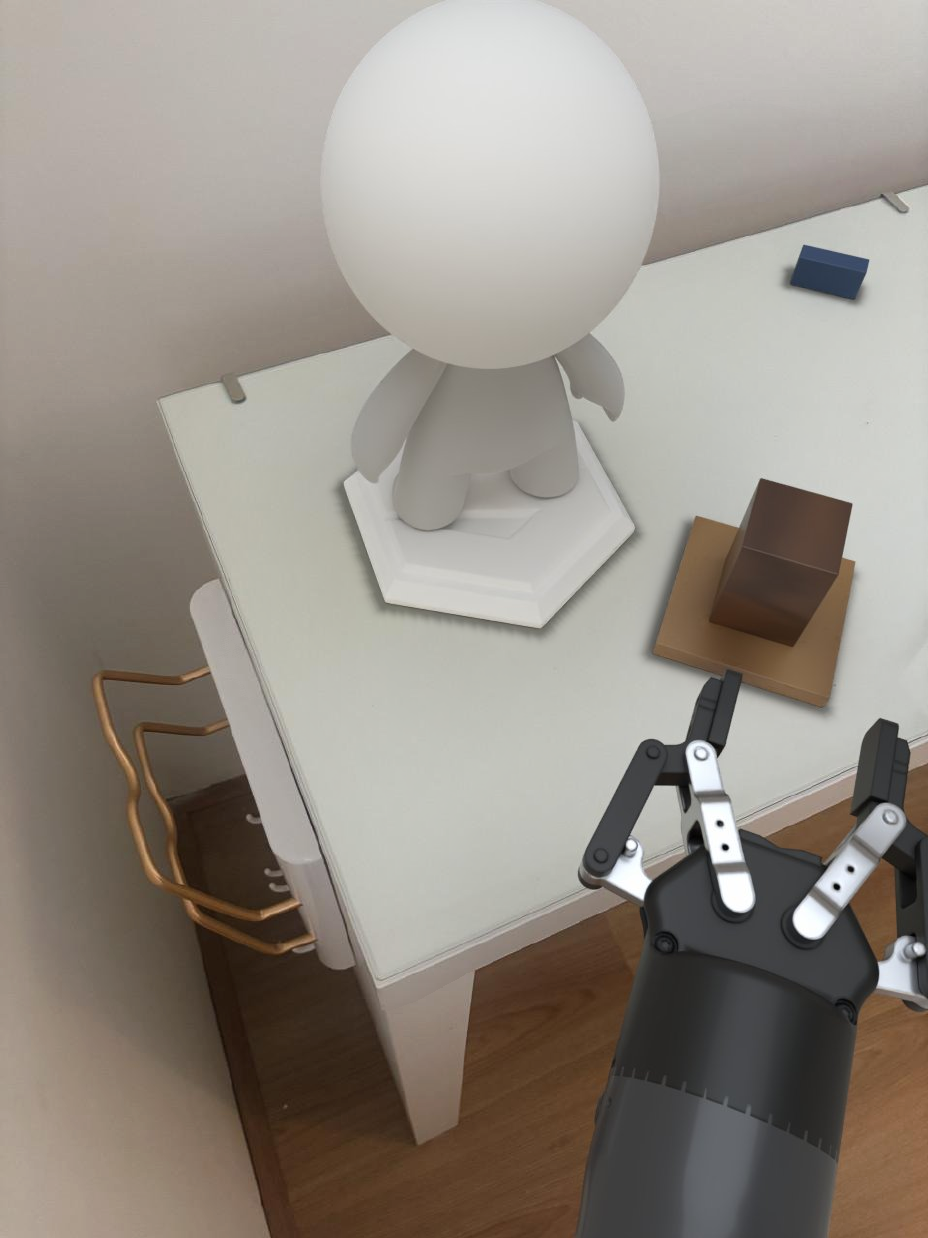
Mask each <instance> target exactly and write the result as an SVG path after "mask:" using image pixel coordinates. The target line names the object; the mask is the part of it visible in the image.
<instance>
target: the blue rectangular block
mask: <svg viewBox="0 0 928 1238" xmlns="http://www.w3.org/2000/svg"><path fill="white" fill-rule="evenodd" d="M798 255H799V256H798V258H797V260H796V264H795V266H794V269H793V271H792V275H791V277H790V282H789V285H791V286H796V287H799V288H804V289H808V290H813V291H817V292H821V293H824V294H825V293H826V294H829V295H833V296H838V297H842V298H846V299H850V300H856V298H857V296H858V293H859V290H860V289H861V287H862V284H863V283H864V279H865V278H866V275H867V273H868V269H869V264H870V259H869V258H865V257H860V256H856V255H852V254H848V253H843V252H838V251H834V250H830V249H825V248H821V247H817V246H816V247H815V246H814V245H813V246H812V245H807V244H802V247H801V249H800V252H799V254H798Z"/></svg>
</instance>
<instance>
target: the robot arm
mask: <svg viewBox="0 0 928 1238" xmlns="http://www.w3.org/2000/svg"><path fill="white" fill-rule="evenodd" d="M742 676H743V674H742V673H739V672H736V671H733V670H730V669H727V668H726V669H725V671H724V673H723V675H721V677H720V679H719V678H716V677H713V676H710V677H709V679H708V680H707V681H706V682H704V684H703V685H702V688H701V689H700V691H699V694H698V696H697V698H696V700H695V703H694V707H693V711H692V714H691V718H690V722H689V725H688V728H687V732H686V736H685V740H684V741H683V742H681V743H678V744H677V743H676V744H665V743H663V742H662V741H660V740H659V739H655V738H647V739H645V740H643V741H641V742H640V744H639V745H638V747H637V749H636V751H635V752H634V754H633V757H632V758H631V761H630V762H629V764H628V766H627V768H626V770H625V772H624V774H623V776H622V777H621V780H620V782H619V783H618V785H617V788H616V789H615V792H614V793H613V795H612V797H611V799H610V801H609V803H608V805H607V807H606V809H605V811H604V812H603V814H602V817H601V819H600V820H599V822H598V824H597V827H596V829H595V830H594V832H593V834H592V836H591V838H590V840H589V842H588V844H587V846H586V848H585V850H584V853H583V855H582V858H581V861H580V863H579V866H578V869H577V878H578V881H579V883H580V884H581V885H582V886H583V887H584V888H586V889H588V890H591V891H596V890H600V889H602V888H603V889H605V890H606V891H607V890H608V891H609V892H611V893H612V894H614V895H616V896H617V897H620V898H622V899H624V900H625V901H627V902H629V903H630V904H633V905H634V906H636V907H638V909H639V910H638V912H639V917H640V921H641V924H642V931H643V942H642V949H641V953H640V957H639V960H638V964H637V967H636V970H635V974H634V978H633V979H634V980H633V983H632V987H631V990H630V994H629V998H628V1002H627V1005H626V1009H625V1012H624V1017H623V1019H622V1024H621V1027H620V1032H619V1034H618V1039H617V1043H616V1046H615V1049H614V1050H615V1051H614V1053H613V1057H612V1061H611V1065H610V1069H609V1073H608V1077H607V1081H606V1085H605V1088H604V1090H603V1092H602V1093H601V1094H600V1095H599V1098H598V1101H597V1104H596V1108H595V1113H594V1120H593V1124H594V1130H593V1133H592V1137H591V1141H590V1145H589V1148H588V1153H587V1157H586V1162H585V1168H584V1173H583V1174H584V1175H583V1181H582V1188H581V1197H580V1203H579V1211H578V1215H577V1222H576V1227H575V1232H574V1235H573V1237H574V1238H829V1231H830V1223H831V1216H832V1210H833V1209H832V1208H833V1203H834V1196H835V1189H836V1183H837V1174H838V1167H839V1161H840V1154H841V1153H840V1152H841V1147H842V1141H843V1132H844V1126H845V1125H844V1124H845V1117H846V1111H847V1104H848V1103H847V1102H848V1096H849V1091H850V1083H851V1075H852V1069H853V1061H854V1055H855V1048H856V1041H857V1034H858V1019H859V1014H860V1011H861V1010H862V1007H863V1006H864V1004H865V1003H866V1001H867V1000H868V999H869V998H870V997H871V996H872V994H875V995H879V996H884V997H890V998H894V999H898V1000H901V1001H902V1003H903V1004H904V1005H905V1006H906V1007H907V1009H909V1010H911V1011H912V1012H915V1013H925V1012H927V1011H928V834H927V833H926V832H924V831H922V830H921V829H920V828H918V827H916V826H915V825H914V824H912V822H910V821H911V820H909V818H908V817H907V815H906V812H905V798H906V792H907V791H906V790H907V783H908V778H909V777H908V774H909V768H910V762H911V761H910V760H911V754H912V752H911V749H910V746H909V745H910V744H909V742H908V740H907V739H905V738H901V737H899V730H900V725H899V723H898V722H895V721H891V720H888V719H885V718H882V717H879V718H878V719H877V720H876V721H875V722H874V723H873V724H872V725H871V726H870V728H868V730H867V731H866V732H865V734H864V736H863V738H862V740H861V745H860V751H859V756H858V763H857V770H856V776H855V780H854V787H853V793H852V798H851V805H850V812H849V815H850V816H852V817H856V821H855V822H856V823H855V825H854V826H852V828H851V829H850V830H849V832H847V834H846V836H845V837H844V838H843V839H842V841H841V842H840V843H839V844H838V845H837V847H836V848H835V849H834V850H833V852H832V853H831V854H830V855H829V856H828V858H826V859H825V861H824V862H822V861H823V856H821V855H818V854H815V853H812V852H810V851H807V850H804V849H800V848H799V849H797V848H789V847H788V848H787V847H780V846H778V845H777V844H775V843H773V842H772V841H770V840H768V839H767V838H765V837H764V836H762V835H761V834H758V833H755V832H752V831H749V830H747V829H744V828H739V829H738V825H737V820H736V816H735V812H734V807H733V803H732V799H731V796H730V795H729V794H727V793H726V790H725V787H724V783H723V778H722V773H721V769H720V765H719V757H720V756H721V754H722V752H723V751H724V749H725V747H726V745H727V741H728V737H729V733H730V728H731V726H732V721H733V716H734V713H735V709H736V705H737V701H738V696H739V692H740V689H741V684H742V682H741V681H742ZM656 786H660V787H675V792H676V796H677V802H678V807H679V811H680V834H681V838H682V844H683V849H684V853H685V856H684V857H683V858H681V859H680V860H678V861H677V862H675V863H674V864H673V865H671V866H670V867H668V868H666V870H664V871H662V873H660V874H658V875H657V876H655V877H654V878H653V879H652V878H651V877H649V875H648V874H647V873H646V872H645V870H644V866H643V860H644V856H645V848H644V845H643V844H642V841H640V840H639V839H638V838H637V837H635V836H633V835H631V834H632V831H633V830H634V828H635V826H636V824H637V822H638V820H639V818H640V816H641V813H642V811H643V809H644V808H645V805H646V804H647V802H648V799H649V797H650V796H651V794H652V791H653V789H654V787H656ZM881 859H882V860H883V861H885V862H887V863H888V864H890V865H891V866H892V867H893V871H894V875H893V876H894V895H895V897H894V898H895V899H894V900H895V920H896V921H895V923H896V924H895V925H896V939H894V940H892V941H891V942H889V943H888V944H887V945H886V946H885V948H884V952H883V957H882V960H881V961H878V959H877V957H876V955H875V953H874V950H873V948H872V946H871V944H870V943H869V940H868V937H867V936H866V933H865V932H864V930H863V927H862V926H861V923H860V922H859V920H858V917H857V915H856V913H855V911H854V909H853V907H852V905H851V903H850V902H851V900H852V899H853V898H854V896H855V895H856V894H857V893H858V891H859V890H860V889H861V887H863V884H864V883H865V882H866V881H867V879H868V878H869V877H870V876H871V875H872V873H873V872H874V870H876V867H878V865H879V864H880V863H881Z"/></svg>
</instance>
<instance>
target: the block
mask: <svg viewBox="0 0 928 1238" xmlns="http://www.w3.org/2000/svg"><path fill="white" fill-rule="evenodd" d="M748 503H749V504H748V506H747V508H746V510H745V512H744V515H743V517H742V519H741V522H740V524H739V526H738V527H737V526H734V525H731V524H727V523H724V522H720V521H716V520H714V519H709V518H707V517H703V516H700V515H695V517H694V519H693V522H692V525H691V528H690V531H689V534H688V536H687V537H688V538H687V541H686V544H685V547H684V550H683V554H682V557H681V560H680V563H679V567H678V570H677V573H676V576H675V579H674V582H673V586H672V589H671V592H670V595H669V599H668V602H667V605H666V609H665V611H664V614H663V617H662V621H661V625H660V628H659V631H658V634H657V637H656V641H655V644H654V647H653V651H652V654H654V655H656V656H659V657H662V658H665V659H668V660H671V661H675V662H677V663H678V662H679V663H682V664H684V665H686V666H687V665H688V666H691V667H694V668H697V669H699V670H704V671H706V672H709V673H712V674H715V675H719V676H722V675H723V673H724V671H725V669H726V668H727V669H730V670H733V671H736V672H739V673H742V674H743V676H742V681H741V683H743V684H747V685H751V686H754V687H757V688H760V689H763V690H766V691H769V692H772V693H775V694H779V695H782V696H785V697H788V698H791V699H794V700H798V701H801V702H804V703H807V704H809V705H813V706H816V707H819V708H823V707H824V706H825V705H826V704H827V703H828V701H829V700H830V699H831V694H832V689H833V685H834V684H833V683H834V679H835V672H836V667H837V662H838V657H839V652H840V647H841V642H842V636H843V631H844V625H845V619H846V614H847V609H848V604H849V600H850V599H849V598H850V594H851V587H852V584H853V583H852V582H853V578H854V571H855V566H856V561H855V560H853V559H848V558H845V557H843V556H844V551H845V545H846V540H847V536H848V530H849V525H850V521H851V515H852V511H853V505H854V504H853V502H850V501H846V500H843V499H839V498H835V497H833V496H828V495H825V494H821V493H817V492H814V491H810V490H806V489H803V488H799V487H795V486H792V485H789V484H784V483H780V482H778V481H773V480H769V479H766V478H763V477H761V478H759V479H758V482H757V485H756V487H755V489H754V492H753V494H752V496H751V499H750V500H749V502H748Z"/></svg>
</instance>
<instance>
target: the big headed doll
mask: <svg viewBox="0 0 928 1238" xmlns="http://www.w3.org/2000/svg"><path fill="white" fill-rule="evenodd" d="M651 120H652V119H651V117H650V115H649V111H648V108H647V106H646V103H645V101H644V98H643V96H642V94H641V92H640V91H639V88H638V86H637V84H636V83H635V80H634V79H633V77H632V76H631V74H630V72H629V71H628V70H627V68H626V66H625V65H624V63H623V62H622V61H621V59H620V58H619V57H618V56H617V55H616V53H615V52H614V51H613V50H612V48H610V46H609V45H608V44H607V43H606V41H604V40H603V39H602V38H601V37H600V36H599V35H597V33H595V32H594V30H593V29H591V28H589V27H588V26H587V25H586V24H585V23H583V22H581V21H580V20H579V19H577V18H576V17H574V16H572V15H571V14H569V13H567V12H565V10H564V11H563V10H561V9H560V8H558V7H555V6H553V5H551V4H548V3H546V2H543V1H541V0H443V1H440V2H437V3H434V4H432V5H430V6H428V7H425V8H424V9H422V10H420V11H417V12H416V13H414V14H412V15H411V16H409V17H408V18H406V19H404V20H403V21H401V22H400V23H398V24H397V25H396V26H395V27H393V28H392V29H391V30H389V31H388V32H387V33H386V34H384V36H382V37H381V38H380V39H379V40H378V41H377V42H376V43H375V44H374V45H373V46H372V47H371V48H370V49H369V51H367V53H366V54H365V55H364V56H363V58H361V60H360V61H359V63H357V66H356V67H355V68H354V70H353V71H352V73H351V74H350V76H349V77H348V79H347V81H346V83H344V86H343V88H342V90H341V92H340V94H339V95H338V98H337V100H336V102H335V105H334V107H333V110H332V112H331V116H330V119H329V122H328V124H327V129H326V133H325V137H324V142H323V147H322V148H323V149H322V154H321V163H320V200H321V208H322V216H323V222H324V227H325V229H326V230H325V231H326V234H327V238H328V241H329V245H330V248H331V250H332V253H333V256H334V259H335V261H336V263H337V265H338V268H339V270H340V273H341V274H342V276H343V278H344V280H345V282H346V283H347V284H348V286H349V288H350V290H351V292H352V293H353V294H354V296H355V297H356V299H357V300H358V302H359V303H360V304H361V305H362V307H363V308H364V309H365V310H366V311H367V313H368V314H369V315H370V316H371V317H372V318H373V319H374V320H375V321H376V322H377V323H378V325H380V326H381V327H382V328H383V329H384V330H385V331H387V332H388V333H389V334H391V336H392V337H394V338H395V339H397V340H398V341H400V342H401V343H403V344H404V345H406V346H407V347H408V348H411V349H410V350H409V351H408V352H407V353H406V354H404V355H403V356H402V358H400V359H399V361H398V362H396V364H395V365H394V366H393V367H392V368H390V370H389V371H388V373H386V375H385V376H384V377H383V378H382V380H381V381H380V382H379V383H378V385H376V387H375V389H374V390H373V391H372V393H370V395H369V396H368V398H367V400H366V401H365V403H363V406H362V408H361V409H360V411H359V413H358V414H357V417H356V419H355V422H354V425H353V427H352V432H351V437H350V453H351V457H352V461H353V463H354V465H355V467H356V469H357V470H356V471H354V473H352V474H351V475H350V476H348V477H347V478H346V479H345V480H344V481H343V487H344V491H345V493H346V496H347V499H348V501H349V504H350V507H351V510H352V513H353V515H354V518H355V522H356V524H357V527H358V530H359V533H360V535H361V538H362V541H363V544H364V548H365V550H366V552H367V555H368V558H369V561H370V563H371V566H372V570H373V572H374V575H375V577H376V581H377V583H378V585H379V589H380V592H381V595H382V598H383V600H384V602H385V603H387V604H391V605H397V606H403V607H404V606H405V607H410V608H415V609H420V610H421V609H422V610H428V611H434V612H440V613H444V614H445V613H446V614H452V615H457V616H463V617H469V618H476V619H480V620H487V621H493V622H499V623H506V624H510V625H511V624H512V625H517V626H523V627H529V628H534V629H542V628H543V627H545V625H546V624H547V623H548V622H549V621H550V620H551V619H552V618H553V617H554V616H555V615H556V614H557V613H558V611H560V609H561V608H563V606H565V604H566V603H567V602H568V601H569V600H571V598H572V597H573V596H574V595H575V594H576V593H577V592H578V591H579V590H580V589H581V587H583V586H584V584H585V583H586V582H587V581H589V579H590V578H591V577H592V576H593V575H594V574H595V573H596V572H597V571H598V570H599V569H600V568H601V567H602V566H603V565H604V564H605V563H606V562H607V561H608V560H609V559H610V558H611V556H613V554H615V552H616V551H617V550H618V549H619V548H620V547H621V546H622V545H624V544H625V542H626V541H627V540H628V539H629V538H630V537H631V536H632V535H633V533H634V532H635V529H636V526H635V524H634V521H633V520H632V518H631V516H630V515H629V512H628V511H627V509H626V507H625V506H624V504H623V502H622V500H621V497H620V496H619V495H618V493H617V491H616V489H615V487H614V486H613V484H612V482H611V480H610V479H609V477H608V475H607V473H606V471H605V469H604V467H603V466H602V464H601V462H600V460H599V458H598V456H597V455H596V453H595V451H594V449H593V448H592V446H591V444H590V442H589V440H588V439H587V437H586V435H585V433H584V432H583V430H582V427H581V426H580V423H578V421H576V420H575V419H573V417H572V416H573V415H572V411H571V407H570V403H569V399H568V395H567V391H566V387H565V383H564V380H563V376H562V373H561V371H560V368H559V367H560V366H561V367H562V369H563V371H564V372H565V374H566V376H567V378H568V381H569V389H570V392H571V395H572V397H573V398H575V399H577V400H581V399H582V398H583V399H585V400H587V401H589V402H591V403H593V404H595V405H597V406H600V407H601V409H602V410H603V412H604V413H605V415H606V416H607V418H608V419H609V421H611V422H612V423H614V422H616V421H617V420H618V419H619V417H620V416H621V414H622V412H623V409H624V405H625V399H626V398H625V397H626V396H625V395H626V391H625V381H624V377H623V373H622V372H621V369H620V367H619V365H618V364H617V362H616V360H615V359H614V357H613V356H612V354H611V353H610V352H609V350H608V349H606V347H605V346H604V345H603V344H602V343H601V342H600V341H599V340H598V339H597V338H596V337H595V336H594V335H593V334H592V333H591V332H593V331H594V330H595V329H596V328H597V327H598V326H599V325H601V323H602V322H603V321H604V320H605V319H606V318H607V317H608V316H609V315H610V314H611V313H612V312H613V310H614V309H615V308H616V307H617V306H618V304H619V303H620V302H621V300H622V299H623V298H624V297H625V295H626V294H627V292H628V290H629V289H630V288H631V286H632V284H633V282H634V280H635V278H636V277H637V275H638V273H639V271H640V269H641V267H642V264H643V263H644V261H645V257H646V255H647V253H648V250H649V247H650V244H651V240H652V238H653V233H654V230H655V225H656V219H657V214H658V207H659V199H660V163H659V162H660V161H659V154H658V153H659V151H658V146H657V141H656V136H655V131H654V127H653V124H652V121H651ZM557 361H558V362H557ZM558 363H559V364H560V366H559V364H558Z"/></svg>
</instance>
